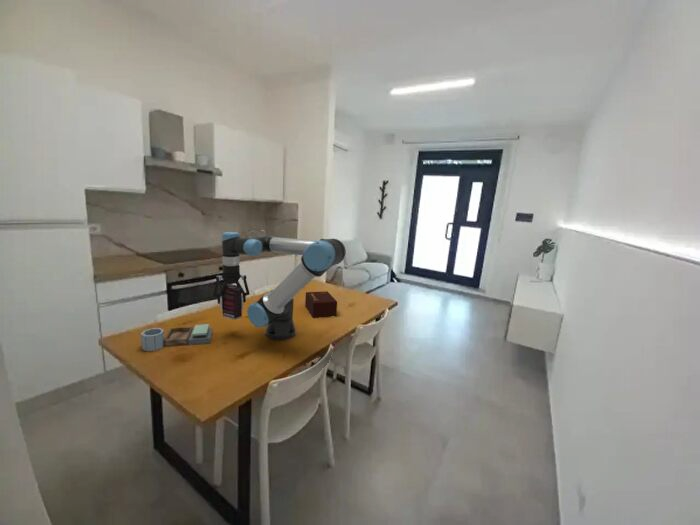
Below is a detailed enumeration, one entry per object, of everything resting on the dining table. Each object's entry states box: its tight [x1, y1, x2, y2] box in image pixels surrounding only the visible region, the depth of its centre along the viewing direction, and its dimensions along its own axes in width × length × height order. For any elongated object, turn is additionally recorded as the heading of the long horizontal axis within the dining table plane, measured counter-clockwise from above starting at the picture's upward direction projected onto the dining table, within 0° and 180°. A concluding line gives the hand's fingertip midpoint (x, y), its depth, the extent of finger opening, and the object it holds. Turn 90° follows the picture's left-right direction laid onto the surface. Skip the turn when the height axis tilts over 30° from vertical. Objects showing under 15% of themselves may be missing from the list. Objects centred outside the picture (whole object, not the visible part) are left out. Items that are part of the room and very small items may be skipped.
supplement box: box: [221, 283, 243, 321], centre depth 147 cm, size 9×5×16 cm, turn 64°
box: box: [304, 290, 338, 319], centre depth 190 cm, size 21×16×10 cm
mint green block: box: [192, 323, 210, 336], centre depth 143 cm, size 6×10×4 cm, turn 19°
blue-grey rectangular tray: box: [187, 327, 214, 346], centre depth 144 cm, size 9×12×2 cm
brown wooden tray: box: [163, 326, 194, 348], centre depth 141 cm, size 10×14×3 cm
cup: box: [140, 327, 165, 352], centre depth 132 cm, size 8×8×7 cm
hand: (232, 309), depth 147 cm, fingers closed on supplement box, 9 cm apart
